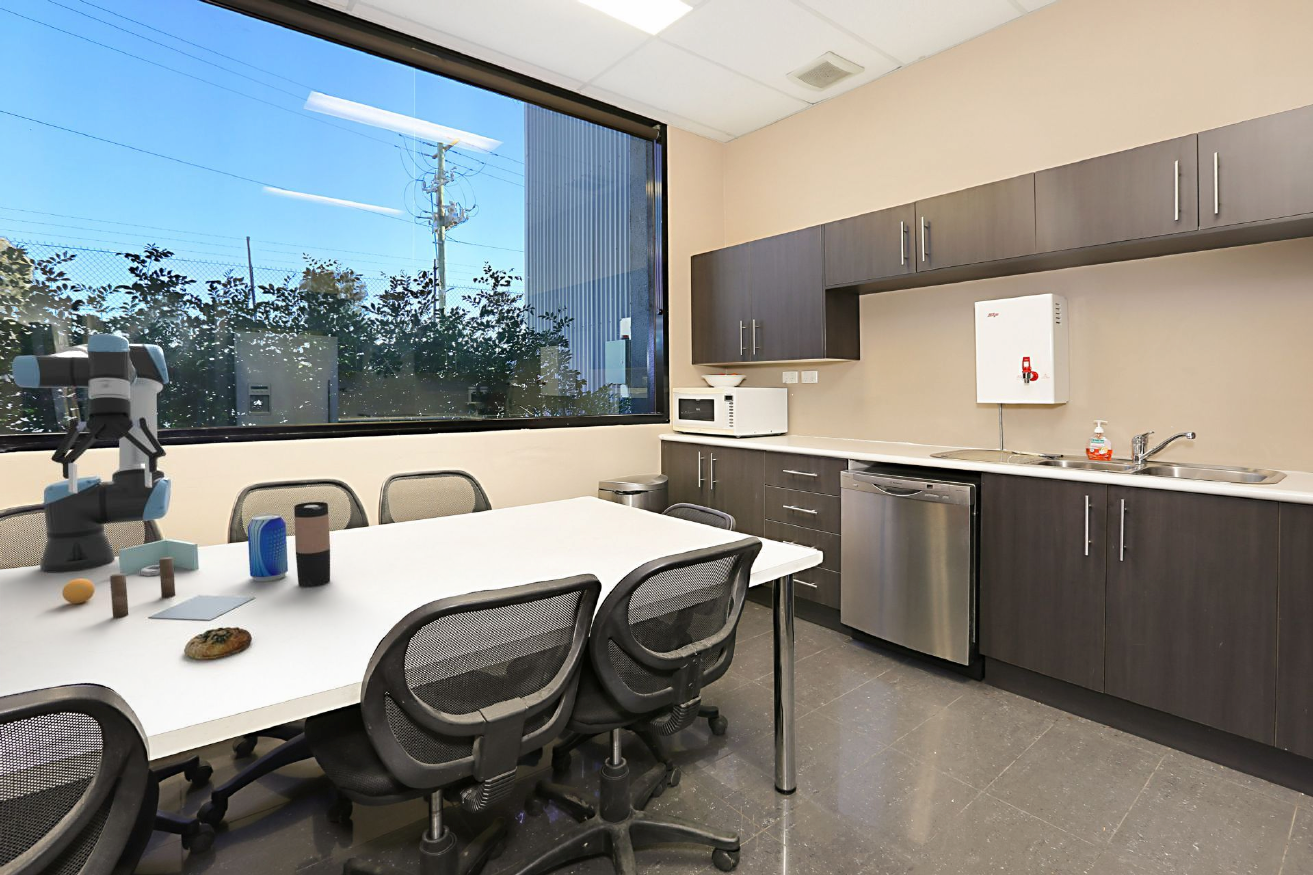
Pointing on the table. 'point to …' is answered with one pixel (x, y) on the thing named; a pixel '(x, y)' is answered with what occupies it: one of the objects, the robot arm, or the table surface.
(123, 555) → the l-shaped corner panel
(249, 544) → the beer can
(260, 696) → the table surface
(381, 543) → the table surface
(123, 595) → the post
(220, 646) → the bread roll
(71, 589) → the ball
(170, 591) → the post
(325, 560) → the travel mug
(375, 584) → the table surface
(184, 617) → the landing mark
